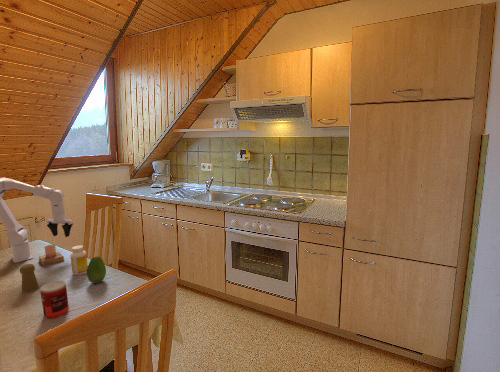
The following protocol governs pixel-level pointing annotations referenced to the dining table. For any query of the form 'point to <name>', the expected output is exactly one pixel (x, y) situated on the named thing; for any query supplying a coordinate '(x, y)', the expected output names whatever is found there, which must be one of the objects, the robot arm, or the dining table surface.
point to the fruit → (96, 270)
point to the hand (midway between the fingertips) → (61, 236)
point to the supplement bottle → (78, 260)
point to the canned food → (54, 299)
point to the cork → (28, 278)
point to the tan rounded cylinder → (50, 251)
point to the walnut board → (51, 259)
